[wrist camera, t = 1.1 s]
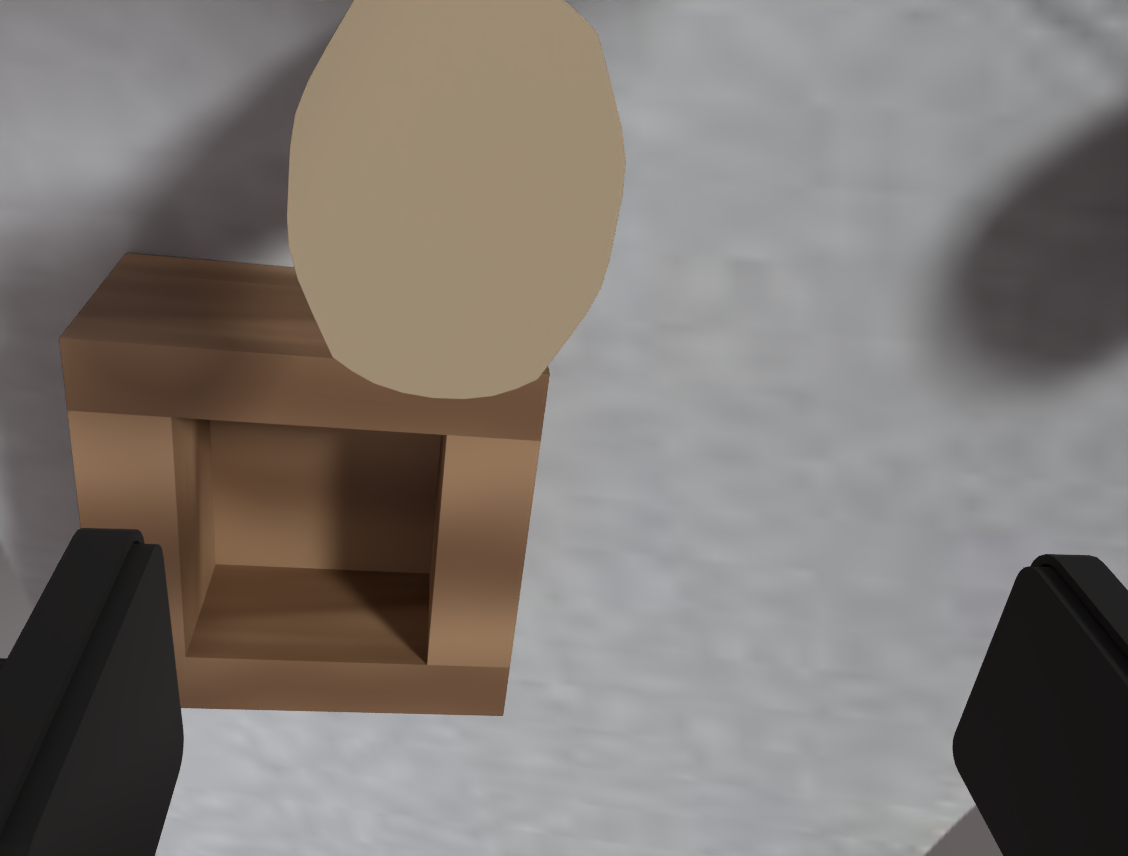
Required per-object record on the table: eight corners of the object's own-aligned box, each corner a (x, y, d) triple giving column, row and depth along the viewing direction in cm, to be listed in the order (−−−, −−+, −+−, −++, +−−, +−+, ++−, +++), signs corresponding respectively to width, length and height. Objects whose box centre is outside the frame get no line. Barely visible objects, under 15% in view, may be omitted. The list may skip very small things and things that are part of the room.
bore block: (125, 252, 30) (59, 337, 25) (533, 287, 32) (549, 374, 27) (151, 581, 36) (101, 705, 31) (495, 595, 38) (502, 716, 33)
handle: (355, 143, 29) (279, 381, 16) (373, -109, 26) (298, -61, 13) (523, 167, 30) (579, 412, 17) (560, -74, 27) (661, 2, 14)
